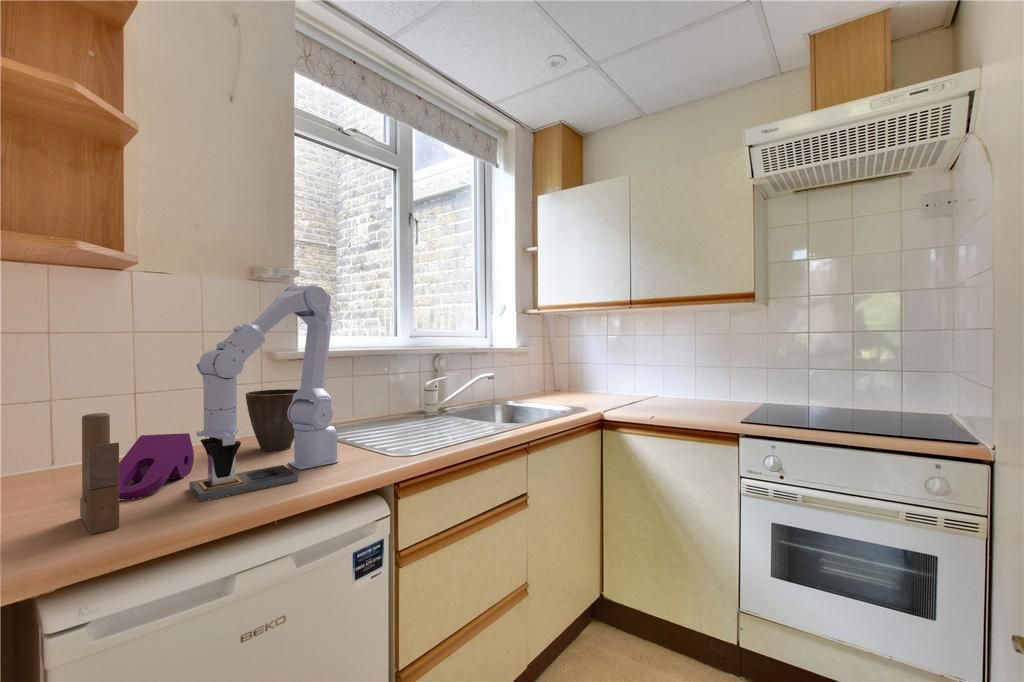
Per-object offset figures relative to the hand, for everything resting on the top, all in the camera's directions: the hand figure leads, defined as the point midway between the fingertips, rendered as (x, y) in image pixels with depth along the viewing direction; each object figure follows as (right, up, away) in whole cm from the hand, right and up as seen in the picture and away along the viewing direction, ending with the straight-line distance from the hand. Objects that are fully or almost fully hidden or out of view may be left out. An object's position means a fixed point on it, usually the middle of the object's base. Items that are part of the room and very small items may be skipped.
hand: (220, 474), depth 93 cm
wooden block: (-10, -4, -17) cm, 19 cm away
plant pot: (-7, -3, +35) cm, 36 cm away
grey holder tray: (+3, -3, +3) cm, 6 cm away
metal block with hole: (0, -2, 0) cm, 2 cm away
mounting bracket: (-17, -4, +3) cm, 17 cm away
